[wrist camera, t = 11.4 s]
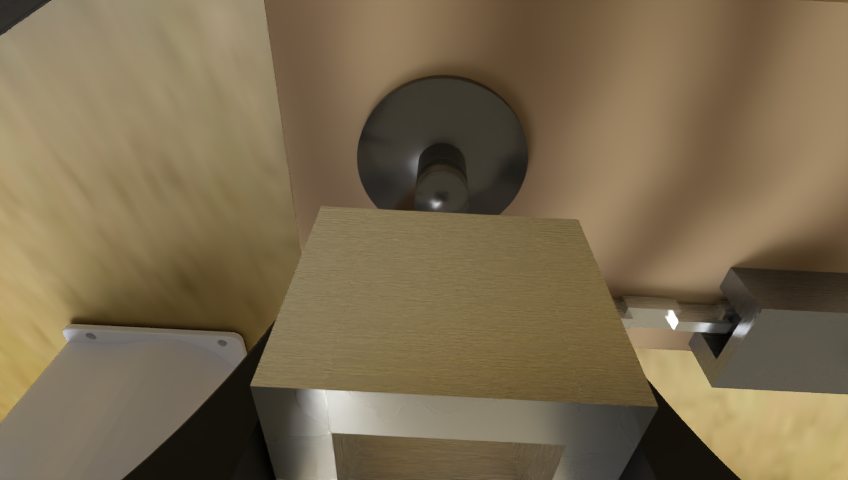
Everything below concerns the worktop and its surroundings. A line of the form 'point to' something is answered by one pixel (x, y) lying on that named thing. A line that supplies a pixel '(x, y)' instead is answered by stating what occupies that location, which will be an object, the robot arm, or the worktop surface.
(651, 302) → the chain slider
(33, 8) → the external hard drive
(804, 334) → the chain housing
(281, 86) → the deck plank
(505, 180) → the post
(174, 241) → the worktop surface
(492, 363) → the grey recessed block
